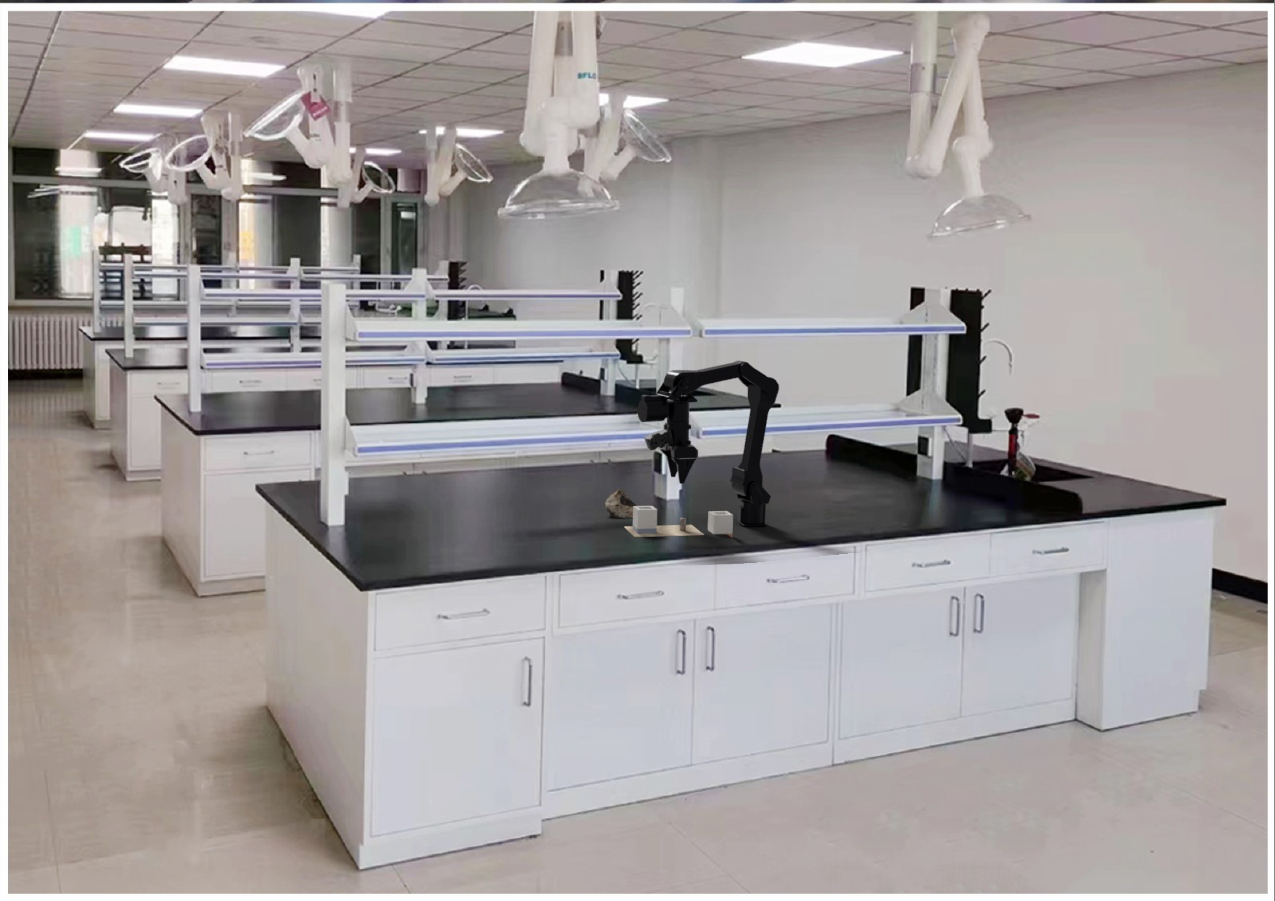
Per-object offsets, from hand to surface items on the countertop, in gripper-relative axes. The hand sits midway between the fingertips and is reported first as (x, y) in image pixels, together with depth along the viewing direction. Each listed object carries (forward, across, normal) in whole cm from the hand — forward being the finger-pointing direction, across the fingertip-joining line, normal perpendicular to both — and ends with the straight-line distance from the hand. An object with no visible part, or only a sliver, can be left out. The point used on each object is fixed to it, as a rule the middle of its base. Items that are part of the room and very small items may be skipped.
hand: (677, 480), depth 327 cm
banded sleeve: (+13, +8, +9) cm, 18 cm away
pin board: (+13, +6, -5) cm, 15 cm away
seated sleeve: (+12, +6, -10) cm, 16 cm away
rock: (+13, -14, -11) cm, 23 cm away
